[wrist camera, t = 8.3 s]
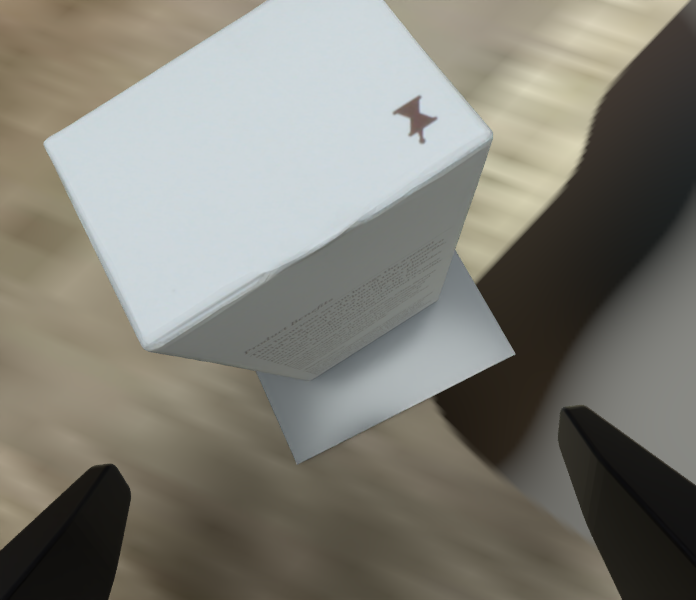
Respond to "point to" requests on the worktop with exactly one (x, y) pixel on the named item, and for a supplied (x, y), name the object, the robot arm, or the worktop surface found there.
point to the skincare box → (278, 187)
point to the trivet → (391, 370)
